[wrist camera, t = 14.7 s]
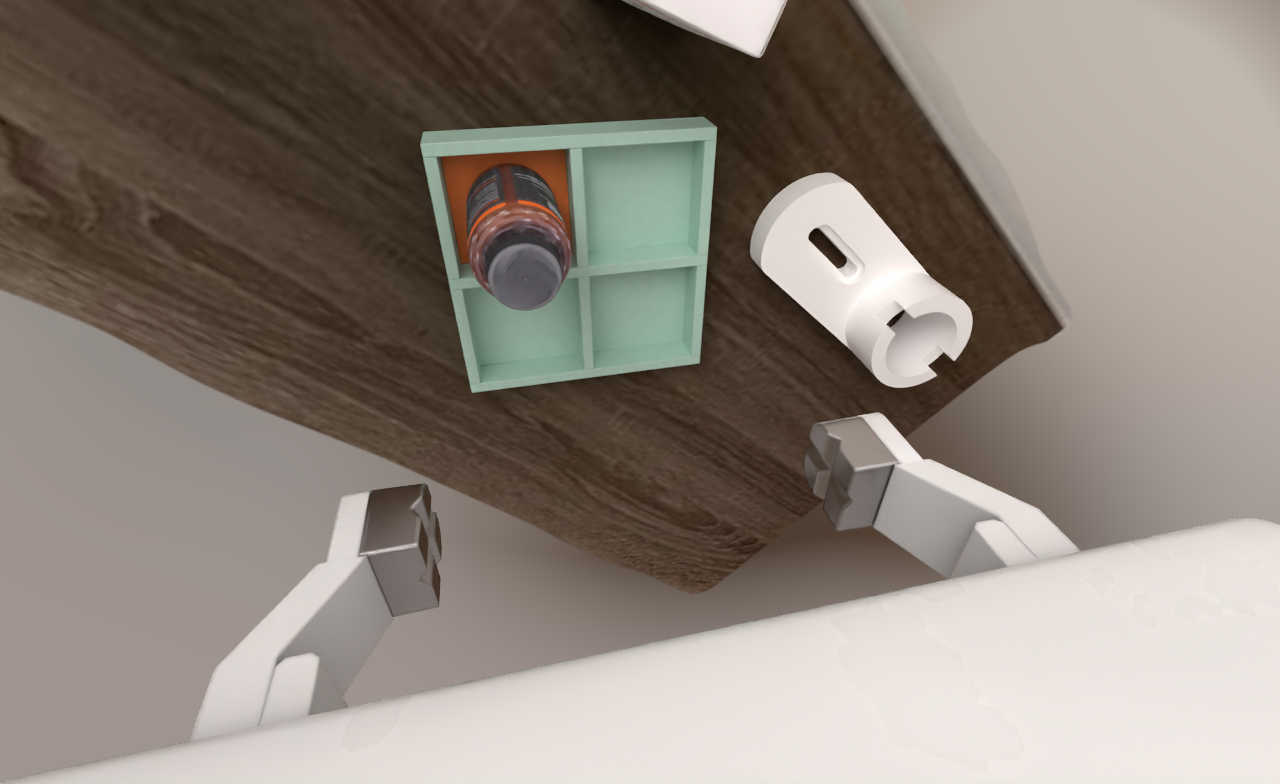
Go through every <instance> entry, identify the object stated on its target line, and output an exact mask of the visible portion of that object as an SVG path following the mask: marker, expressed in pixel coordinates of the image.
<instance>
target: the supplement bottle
mask: <svg viewBox="0 0 1280 784" xmlns="http://www.w3.org/2000/svg"><path fill="white" fill-rule="evenodd" d="M466 217H467V243H468V258H469V264H470V267H471V270H472V273H473V275H474V277H475V278H476V280H477V281H478V282H479V284H480V285H481V286H482V287H483V288H484V289H485V290H486V291H487V292H488V293H490V294H491V295H493V296H494V297H495V298H496V299H497V300H498V301H499V302H501V303H502V304H503V305H505V306H507V307H509V308H512V309H515V310H521V311H529V310H534V309H537V308H541V307H543V306H545V305H546V304H548V303H549V302H550V301H552V299H553V298H554V297H555V296H556V294H557V293H558V291H559V289H560V286H561V284H562V283H563V281H564V280H565V278H566V277H567V274H568V272H569V268H570V266H571V260H572V250H571V244H570V240H569V237H568V234H567V230H566V228H565V225H564V222H563V219H562V217H561V214H560V211H559V208H558V206H557V203H556V200H555V197H554V195H553V192H552V191H551V189H550V187H549V185H548V184H547V182H546V181H545V180H544V179H543V178H542V177H541V176H540V175H539V174H538V173H536V172H535V171H534V170H532V169H530V168H528V167H526V166H523V165H519V164H500V165H496V166H493V167H490V168H489V169H487V170H485V171H484V172H482V173H481V174H480V175H479V176H478V177H477V178H476V179H475V181H474V182H473V184H472V185H471V187H470V189H469V193H468V196H467V202H466Z"/></svg>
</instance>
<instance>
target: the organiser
mask: <svg viewBox="0 0 1280 784" xmlns="http://www.w3.org/2000/svg"><path fill="white" fill-rule="evenodd" d="M716 136H717V127H716V126H715V125H713V124H712V123H711V122H709V121H708V120H707V119H706V118H704V117H690V118H671V119H653V120H634V121H615V122H596V123H578V124H559V125H540V126H521V127H503V128H484V129H465V130H446V131H428V132H423V135H422V139H421V143H420V146H421V151H422V156H423V161H424V166H425V170H426V175H427V180H428V185H429V190H430V194H431V199H432V204H433V209H434V214H435V219H436V223H437V228H438V233H439V238H440V243H441V247H442V252H443V257H444V262H445V267H446V272H447V276H448V281H449V286H450V290H451V296H452V301H453V305H454V310H455V315H456V320H457V325H458V330H459V334H460V339H461V344H462V349H463V354H464V358H465V363H466V368H467V373H468V378H469V383H470V387H471V392H472V393H474V392H482V391H490V390H498V389H505V388H513V387H521V386H528V385H536V384H544V383H552V382H559V381H567V380H575V379H583V378H590V377H598V376H606V375H614V374H621V373H629V372H637V371H644V370H652V369H660V368H668V367H675V366H683V365H691V364H699V363H700V352H701V338H702V325H703V311H704V298H705V284H706V271H707V257H708V246H709V232H710V219H711V205H712V192H713V178H714V165H715V151H716ZM500 164H519V165H523V166H526V167H528V168H530V169H532V170H534V171H535V172H536V173H538V174H539V175H540V176H541V177H542V178H543V179H544V180H545V181H546V182H547V184H548V185H549V187H550V189H551V191H552V192H553V195H554V197H555V200H556V203H557V206H558V208H559V211H560V214H561V217H562V219H563V222H564V225H565V228H566V230H567V234H568V237H569V240H570V244H571V250H572V260H571V266H570V268H569V272H568V274H567V277H566V278H565V280H564V281H563V283H562V284H561V286H560V289H559V291H558V293H557V294H556V296H555V297H554V298H553V299H552V301H550V302H549V303H548V304H546V305H545V306H543V307H541V308H537V309H534V310H529V311H521V310H515V309H512V308H509V307H507V306H505V305H503V304H502V303H501V302H499V301H498V300H497V299H496V298H495V297H494V296H493V295H491V294H490V293H488V292H487V291H486V290H485V289H484V288H483V287H482V286H481V285H480V284H479V282H478V281H477V280H476V278H475V277H474V275H473V273H472V270H471V267H470V264H469V258H468V243H467V217H466V202H467V196H468V193H469V189H470V187H471V185H472V184H473V182H474V181H475V179H476V178H477V177H478V176H479V175H480V174H481V173H482V172H484V171H485V170H487V169H489V168H490V167H493V166H496V165H500Z"/></svg>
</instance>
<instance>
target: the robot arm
mask: <svg viewBox="0 0 1280 784" xmlns="http://www.w3.org/2000/svg"><path fill="white" fill-rule="evenodd" d="M809 438H810V440H811V441H812V443H813V445H812V446H811V447H810V448H809V449H808V450H807V451H806V452H805V457H804V463H803V466H804V474H805V478H806V481H807V483H808V485H809V487H810V489H811V491H812V492H813V494H815V495H817V496H819V497H820V498H822V499H824V504H823V510H824V511H825V513H826V515H827V516H828V518H829V519H830V521H831V522H832V524H833V526H834V527H835V529H836V530H837V531H842V530H848V529H855V528H861V527H867V526H873V525H874V526H873V527H874V528H875V529H876V530H878V531H879V532H881V533H882V534H883V535H885V536H886V537H888V538H889V539H891V540H892V541H893V542H895V543H896V544H898V545H899V546H901V547H902V548H904V549H905V550H906V551H908V552H909V553H911V554H912V555H914V556H915V557H916V558H918V559H919V560H921V561H923V562H924V563H925V564H927V565H928V566H929V567H931V568H932V569H934V570H935V571H937V572H938V573H939V574H941V575H942V576H944V577H945V578H947V579H948V580H944V581H939V582H934V583H930V584H925V585H920V586H915V587H911V588H906V589H901V590H897V591H892V592H887V593H882V594H878V595H873V596H869V597H864V598H859V599H854V600H850V601H845V602H841V603H836V604H831V605H826V606H822V607H817V608H813V609H808V610H803V611H798V612H794V613H789V614H784V615H780V616H775V617H771V618H765V619H761V620H756V621H752V622H747V623H742V624H737V625H733V626H728V627H723V628H718V629H714V630H709V631H704V632H700V633H695V634H691V635H686V636H681V637H676V638H671V639H667V640H662V641H658V642H653V643H648V644H643V645H638V646H634V647H629V648H624V649H620V650H615V651H610V652H605V653H601V654H596V655H591V656H587V657H583V658H578V659H573V660H568V661H563V662H559V663H554V664H549V665H544V666H540V667H535V668H530V669H526V670H522V671H516V672H512V673H507V674H503V675H497V676H493V677H488V678H483V679H479V680H474V681H469V682H465V683H460V684H455V685H450V686H446V687H441V688H436V689H432V690H427V691H423V692H418V693H413V694H408V695H404V696H399V697H394V698H389V699H385V700H380V701H375V702H371V703H366V704H361V705H357V706H352V707H348V705H347V704H346V702H345V700H344V698H343V696H344V694H345V692H346V691H347V690H348V688H349V686H350V685H351V683H352V682H353V680H354V679H355V677H356V676H357V674H358V673H359V671H360V670H361V668H362V667H363V665H364V664H365V662H366V660H367V659H368V657H369V656H370V654H371V653H372V651H373V650H374V648H375V647H376V645H377V644H378V642H379V640H380V639H381V637H382V636H383V635H384V633H385V632H386V630H387V628H388V627H389V625H390V624H391V622H392V621H393V617H395V616H399V615H404V614H408V613H413V612H418V611H422V610H427V609H431V608H436V607H439V596H440V575H439V572H438V569H437V563H438V562H439V561H440V560H441V548H442V546H441V534H440V528H439V522H438V518H437V515H436V512H434V511H432V510H431V495H430V492H429V489H428V486H427V485H426V484H417V485H409V486H401V487H394V488H386V489H379V490H372V491H369V492H361V493H352V494H345V495H344V496H343V497H342V499H341V500H340V504H339V508H338V512H337V516H336V520H335V524H334V529H333V533H332V537H331V542H330V546H329V551H328V555H327V559H326V563H321V564H317V565H316V566H315V567H314V568H313V569H312V570H311V571H310V572H309V573H308V574H307V575H306V576H305V577H304V578H303V579H302V580H301V581H300V582H299V583H298V584H297V585H296V586H295V587H294V588H293V589H292V591H291V592H290V593H289V594H288V595H287V596H286V597H285V598H284V599H283V600H282V601H281V602H280V603H279V604H278V605H277V606H276V607H275V608H274V609H273V610H272V611H271V612H270V613H269V614H268V615H267V616H266V617H265V618H264V619H263V620H262V621H261V622H260V623H259V624H258V625H257V626H256V627H255V628H254V629H253V630H252V631H251V633H249V634H248V635H247V636H246V637H245V639H244V640H242V642H241V643H240V644H239V645H238V646H237V647H236V648H235V649H234V650H233V651H232V652H231V653H230V654H229V655H228V656H227V657H226V658H225V659H224V660H223V661H222V662H221V663H220V664H219V665H218V666H217V667H216V668H215V669H214V672H213V675H212V677H211V680H210V684H209V686H208V689H207V692H206V695H205V698H204V700H203V703H202V706H201V709H200V712H199V714H198V718H197V720H196V723H195V726H194V729H193V732H192V734H191V737H190V740H189V741H188V742H183V743H178V744H174V745H169V746H164V747H160V748H155V749H150V750H146V751H141V752H136V753H131V754H127V755H122V756H117V757H113V758H109V759H103V760H99V761H95V762H90V763H85V764H80V765H76V766H71V767H66V768H61V769H57V770H52V771H47V772H43V773H38V774H34V775H29V776H24V777H19V778H15V779H10V780H5V781H1V782H0V784H1280V525H1278V524H1275V523H1272V522H1269V521H1265V520H1262V519H1258V518H1236V519H1230V520H1224V521H1220V522H1215V523H1210V524H1206V525H1201V526H1197V527H1192V528H1187V529H1183V530H1179V531H1174V532H1169V533H1164V534H1160V535H1155V536H1150V537H1146V538H1141V539H1136V540H1132V541H1127V542H1122V543H1118V544H1113V545H1109V546H1104V547H1099V548H1094V549H1090V550H1085V551H1080V550H1079V549H1078V548H1077V547H1076V546H1075V545H1074V544H1073V543H1072V542H1071V541H1070V540H1069V539H1068V538H1067V537H1066V536H1065V535H1064V534H1063V533H1062V532H1061V531H1060V530H1059V529H1058V528H1057V527H1056V526H1055V525H1054V524H1053V523H1052V522H1051V521H1050V520H1049V519H1048V518H1047V517H1046V516H1045V515H1044V514H1043V513H1042V512H1041V511H1040V510H1039V509H1038V508H1035V507H1033V506H1031V505H1029V504H1027V503H1024V502H1022V501H1020V500H1018V499H1016V498H1014V497H1011V496H1009V495H1007V494H1005V493H1003V492H1001V491H998V490H996V489H994V488H992V487H990V486H987V485H985V484H983V483H981V482H979V481H976V480H974V479H972V478H970V477H968V476H966V475H963V474H961V473H959V472H957V471H955V470H952V469H950V468H948V467H946V466H944V465H942V464H939V463H937V462H935V461H933V460H931V459H926V460H923V459H922V458H921V457H920V456H919V455H918V453H916V451H915V450H914V449H913V448H912V447H911V446H910V444H909V443H908V442H907V441H906V440H905V439H904V438H903V436H902V435H901V434H900V433H899V432H898V431H897V430H896V429H895V427H894V426H893V425H892V424H891V423H890V422H889V421H888V419H887V418H886V417H885V416H884V415H882V414H880V413H878V412H877V413H872V414H866V415H860V416H856V417H849V418H843V419H837V420H830V421H824V422H818V423H814V425H813V426H812V427H811V430H810V434H809Z"/></svg>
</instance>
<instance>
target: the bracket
mask: <svg viewBox="0 0 1280 784" xmlns="http://www.w3.org/2000/svg"><path fill="white" fill-rule="evenodd" d="M815 228H819V229H820V231H821V232H822V233H823V234H824V235H825V236H826V237H827V238H828V239H829V240H830V241H831V242H832V243H833V244H834V245H835V246H836V247H837V248H838V249H839V250H840V251H841V252H842V253H843V255H844V256H845V257H846V258H847V261H846V264H845V265H844V266H843V267H842V268H839V269H837V268H836V267H835V266H834V265H833V264H832V263H831V262H830V261H829V260H828V259H827V258H826V257H825V256H824V255H823V254H822V253H821V252H820V251H819V250H818V249H817V248H816V247H815V246H814V245H813V244H812V243H811V242H810V241H809V239H808V236H809V233H810V232H811V231H812V230H813V229H815ZM750 255H751V258H752V259H753V260H754V262H755V263H756V264H757V265H758V266H759V267H760V268H761V269H762V271H763V272H764V273H765V274H766V275H767V276H769V277H770V278H771V279H772V280H773V281H774V282H775V283H776V284H777V285H779V286H780V287H781V288H782V289H783V290H784V291H785V292H786V293H788V294H789V295H790V296H791V297H792V298H793V299H794V300H795V301H796V302H798V303H799V304H800V305H801V306H802V307H803V308H804V309H805V310H806V311H808V312H809V313H810V314H811V315H812V316H813V317H814V318H815V319H817V320H818V321H819V322H820V323H821V324H822V325H823V326H824V327H825V328H827V329H828V330H829V331H830V332H831V333H832V334H833V335H834V336H836V337H837V338H838V339H839V340H840V341H841V342H842V343H843V344H844V345H846V346H847V347H848V348H849V349H850V350H851V351H852V352H853V353H854V354H855V355H856V356H857V357H858V358H859V359H860V361H861V362H862V363H863V364H864V365H865V366H866V367H867V368H868V369H869V370H870V371H871V372H872V373H873V375H874V376H875V377H876V378H877V379H878V380H879V381H880V382H882V383H883V384H885V385H887V386H891V387H896V388H904V387H911V386H915V385H918V384H921V383H924V382H926V381H928V380H930V379H932V378H934V377H935V376H937V375H936V374H935V373H934V372H933V371H932V370H931V369H930V368H929V367H928V365H929V364H930V363H932V362H933V361H934V360H936V359H937V358H938V357H939V356H940V355H941V354H942V353H943V352H944V353H945V354H947V355H948V356H949V357H950V358H951V359H952V360H953V361H955V359H956V358H957V357H958V356H959V355H960V353H961V352H962V350H963V349H964V347H965V345H966V344H967V342H968V339H969V337H970V334H971V330H972V314H971V311H970V309H969V307H968V306H967V305H966V303H965V302H964V301H962V300H961V299H960V298H958V297H957V296H956V295H954V294H953V293H951V292H950V291H949V290H947V289H946V288H945V287H943V286H942V285H941V284H939V283H938V282H937V281H935V280H934V279H932V278H931V277H930V276H929V274H928V273H927V272H926V271H925V270H924V269H923V267H922V266H921V265H920V264H919V263H918V262H917V260H916V259H915V258H914V257H913V256H912V254H911V253H910V252H909V251H908V250H907V249H906V247H905V246H904V245H903V244H902V243H901V242H900V240H899V239H898V238H897V237H896V236H895V235H894V233H893V232H892V231H891V230H890V229H889V227H888V226H887V225H886V224H885V223H884V222H883V220H882V219H881V218H880V217H879V216H878V215H877V213H876V212H875V211H874V210H873V209H872V207H871V206H870V205H869V204H868V203H867V202H866V200H865V199H864V198H863V197H862V196H861V195H860V193H859V192H858V191H857V190H856V189H855V188H854V186H853V185H851V184H850V183H848V182H847V181H845V180H844V179H842V178H840V177H839V176H837V175H836V174H834V173H818V174H813V175H809V176H806V177H804V178H801V179H799V180H797V181H795V182H793V183H792V184H790V185H788V186H787V187H786V188H784V189H783V190H782V191H780V192H779V193H778V194H777V195H776V196H775V197H774V198H773V199H772V200H771V201H770V202H769V204H768V205H767V206H766V208H765V209H764V210H763V212H762V214H761V215H760V217H759V219H758V221H757V223H756V225H755V228H754V230H753V234H752V238H751V243H750ZM902 310H905V312H904V314H903V315H902V317H901V318H900V319H899V320H898V321H897V322H896V323H895V324H894V325H893V326H892V327H890V328H889V327H888V326H887V325H886V324H887V323H888V322H889V321H890V320H891V319H892V318H893V317H894V316H895V315H896V314H898V313H899V312H901V311H902Z"/></svg>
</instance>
